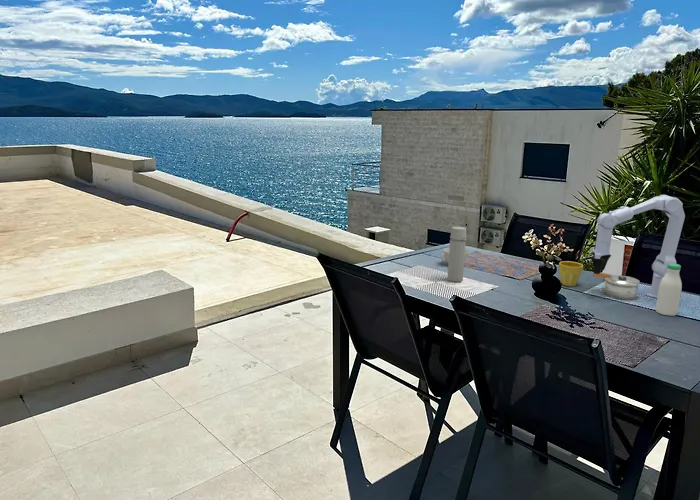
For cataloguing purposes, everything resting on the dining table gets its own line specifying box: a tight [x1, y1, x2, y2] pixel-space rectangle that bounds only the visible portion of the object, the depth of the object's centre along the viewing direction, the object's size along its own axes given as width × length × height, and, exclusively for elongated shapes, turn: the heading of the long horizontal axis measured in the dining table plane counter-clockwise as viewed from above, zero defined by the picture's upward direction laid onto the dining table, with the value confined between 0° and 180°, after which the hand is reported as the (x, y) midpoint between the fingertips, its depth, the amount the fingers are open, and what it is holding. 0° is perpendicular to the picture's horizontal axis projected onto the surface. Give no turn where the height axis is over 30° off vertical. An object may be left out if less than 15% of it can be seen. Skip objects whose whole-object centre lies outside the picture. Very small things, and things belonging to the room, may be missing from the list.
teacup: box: [440, 247, 469, 264], centre depth 280 cm, size 15×12×8 cm
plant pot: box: [558, 260, 584, 287], centre depth 252 cm, size 10×10×10 cm
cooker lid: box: [593, 271, 640, 287], centre depth 239 cm, size 19×14×2 cm
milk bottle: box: [655, 263, 683, 317], centre depth 215 cm, size 8×8×20 cm
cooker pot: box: [603, 279, 639, 301], centre depth 241 cm, size 18×13×6 cm
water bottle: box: [447, 226, 468, 283], centre depth 252 cm, size 9×8×25 cm
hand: (598, 271), depth 238 cm, fingers open, 7 cm apart
